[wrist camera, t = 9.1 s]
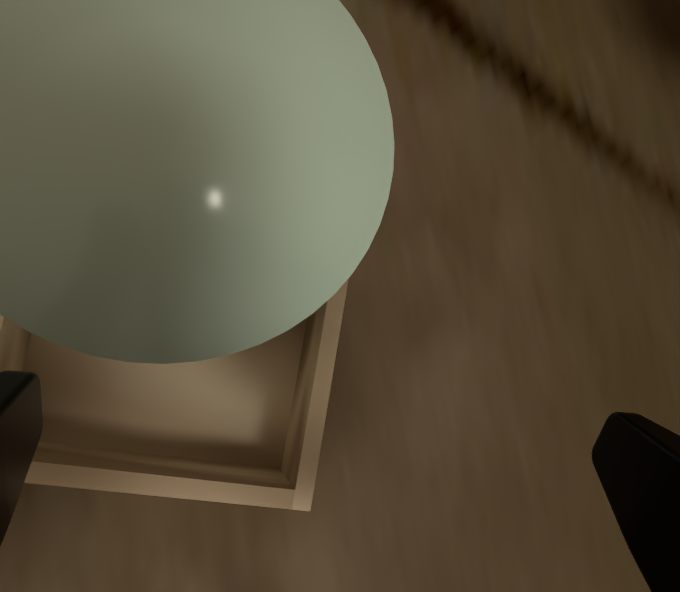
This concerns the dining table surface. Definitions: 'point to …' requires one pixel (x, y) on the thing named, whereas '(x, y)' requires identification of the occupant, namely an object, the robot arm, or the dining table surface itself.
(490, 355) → the dining table surface
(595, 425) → the dining table surface
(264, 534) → the dining table surface
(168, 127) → the pale green cylinder
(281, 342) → the tray
